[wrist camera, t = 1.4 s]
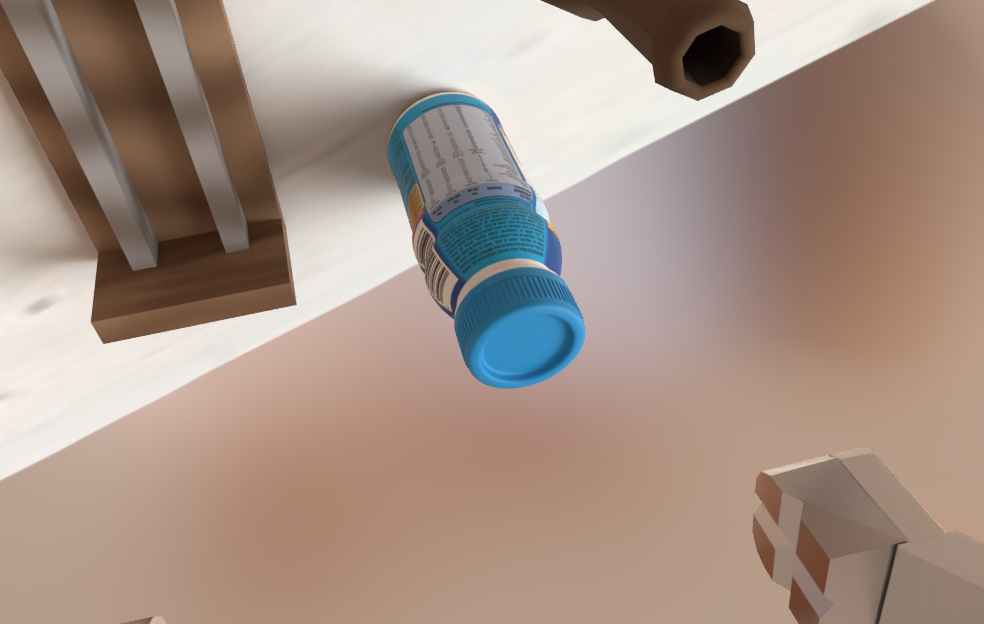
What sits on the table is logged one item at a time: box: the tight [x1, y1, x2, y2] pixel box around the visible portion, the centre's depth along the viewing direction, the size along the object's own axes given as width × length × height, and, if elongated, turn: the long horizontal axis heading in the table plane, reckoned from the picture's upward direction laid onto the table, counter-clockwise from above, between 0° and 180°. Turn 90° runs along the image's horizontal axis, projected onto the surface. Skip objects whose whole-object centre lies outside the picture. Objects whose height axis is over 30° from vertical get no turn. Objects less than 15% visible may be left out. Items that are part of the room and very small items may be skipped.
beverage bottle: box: [388, 92, 585, 388], centre depth 48 cm, size 8×8×20 cm
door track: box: [0, 0, 297, 344], centre depth 43 cm, size 26×12×8 cm, turn 1°
